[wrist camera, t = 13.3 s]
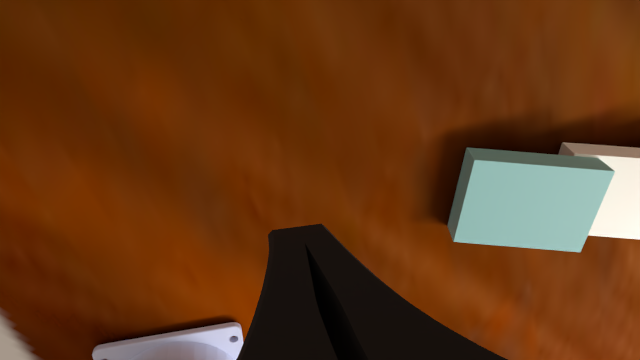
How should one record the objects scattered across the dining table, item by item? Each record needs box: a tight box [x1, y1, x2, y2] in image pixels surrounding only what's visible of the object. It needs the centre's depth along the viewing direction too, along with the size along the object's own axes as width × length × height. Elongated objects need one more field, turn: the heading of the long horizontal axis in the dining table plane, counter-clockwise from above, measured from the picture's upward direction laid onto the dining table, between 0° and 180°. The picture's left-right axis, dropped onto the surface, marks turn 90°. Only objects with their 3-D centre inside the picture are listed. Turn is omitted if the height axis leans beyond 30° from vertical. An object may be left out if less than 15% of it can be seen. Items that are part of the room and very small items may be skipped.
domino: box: [558, 142, 640, 239], centre depth 25 cm, size 5×2×7 cm
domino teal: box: [447, 147, 615, 252], centre depth 23 cm, size 5×2×7 cm
